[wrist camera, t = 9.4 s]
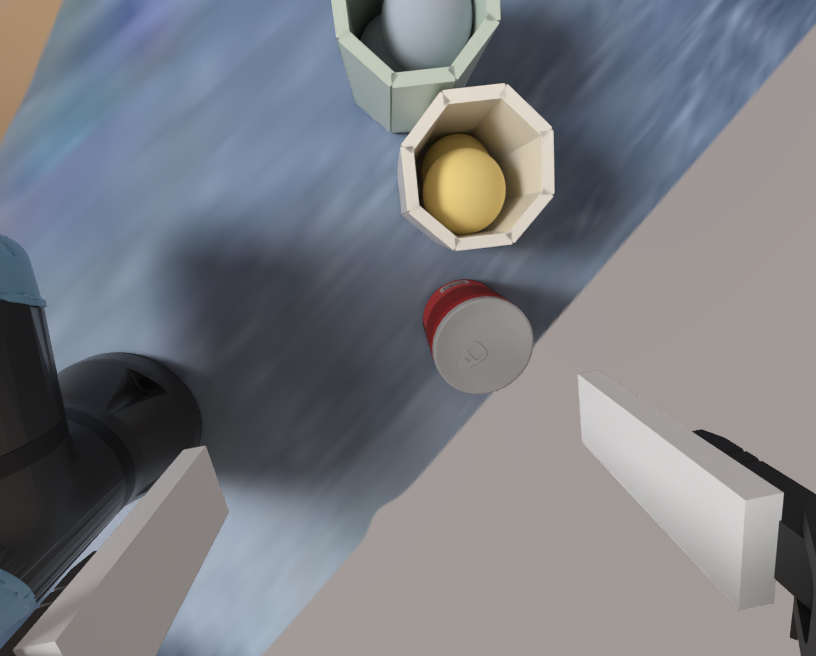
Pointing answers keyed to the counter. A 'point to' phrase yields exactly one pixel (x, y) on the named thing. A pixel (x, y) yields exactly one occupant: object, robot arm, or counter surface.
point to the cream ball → (448, 149)
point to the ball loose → (464, 190)
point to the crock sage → (411, 90)
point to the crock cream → (505, 142)
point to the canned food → (476, 337)
